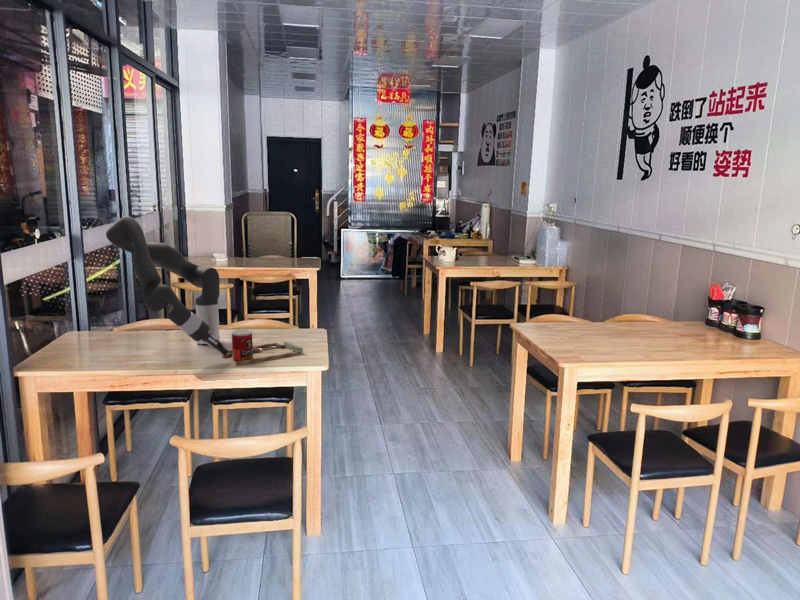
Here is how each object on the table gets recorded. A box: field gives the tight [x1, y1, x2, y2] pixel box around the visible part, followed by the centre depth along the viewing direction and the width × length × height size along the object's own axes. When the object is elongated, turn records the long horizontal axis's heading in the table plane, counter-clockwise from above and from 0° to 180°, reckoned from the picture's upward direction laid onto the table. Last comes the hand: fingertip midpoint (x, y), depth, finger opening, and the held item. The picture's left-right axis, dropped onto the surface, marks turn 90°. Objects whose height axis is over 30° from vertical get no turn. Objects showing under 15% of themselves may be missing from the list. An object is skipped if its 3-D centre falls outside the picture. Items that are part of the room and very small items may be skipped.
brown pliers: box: [221, 340, 304, 367], centre depth 244 cm, size 28×20×2 cm
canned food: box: [231, 329, 254, 362], centre depth 236 cm, size 8×8×11 cm
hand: (226, 353), depth 232 cm, fingers closed
